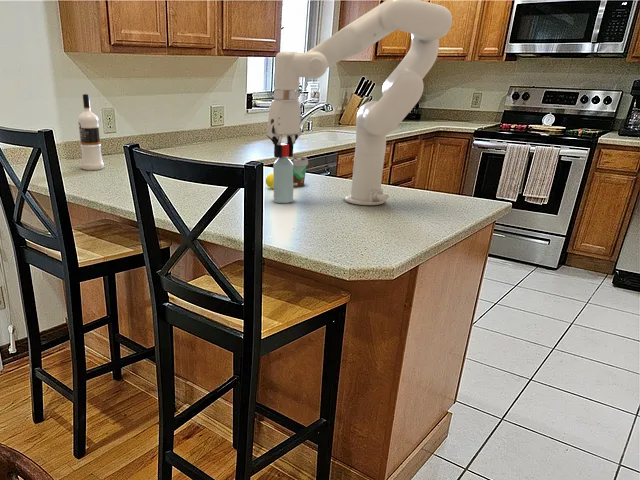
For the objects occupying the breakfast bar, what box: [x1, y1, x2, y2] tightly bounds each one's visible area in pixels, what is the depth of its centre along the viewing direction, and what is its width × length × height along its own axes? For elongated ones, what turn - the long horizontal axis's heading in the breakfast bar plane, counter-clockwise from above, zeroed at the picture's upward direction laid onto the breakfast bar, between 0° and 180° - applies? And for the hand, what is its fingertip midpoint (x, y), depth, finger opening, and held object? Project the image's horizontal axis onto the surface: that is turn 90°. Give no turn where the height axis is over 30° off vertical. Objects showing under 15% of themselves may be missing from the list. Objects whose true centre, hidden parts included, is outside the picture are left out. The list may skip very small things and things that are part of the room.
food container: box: [290, 155, 309, 188], centre depth 197 cm, size 12×6×10 cm, turn 168°
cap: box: [281, 143, 289, 157], centre depth 168 cm, size 4×4×4 cm
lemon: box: [265, 173, 274, 190], centre depth 192 cm, size 7×5×5 cm
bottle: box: [272, 156, 294, 204], centre depth 171 cm, size 6×6×18 cm
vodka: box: [77, 93, 105, 171], centre depth 220 cm, size 9×9×30 cm
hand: (283, 156), depth 169 cm, fingers closed on cap, 3 cm apart
